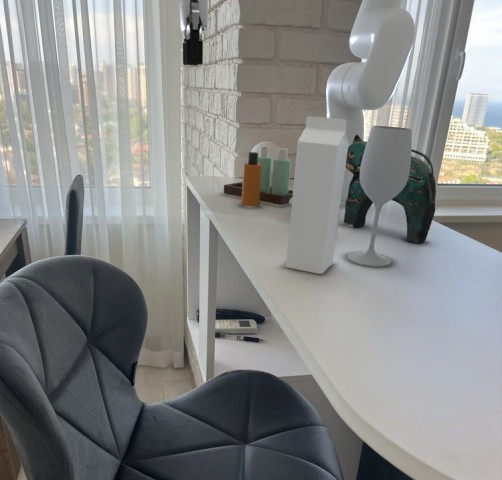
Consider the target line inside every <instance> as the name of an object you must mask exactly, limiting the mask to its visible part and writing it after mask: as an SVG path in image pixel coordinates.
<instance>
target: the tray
mask: <svg viewBox="0 0 502 480" xmlns="http://www.w3.org/2000/svg"><path fill="white" fill-rule="evenodd" d="M271 189H272V185H270V193H266V192H261V191H260V199H259V202H265V203H269V204H275V205H279V206H284V205H287V204H289V201H290V199H291V197H293V190H291V189H289V191H288V194H285V195H277V194H271ZM223 194H226V195H231V196H236V197H241V198H242V181H239V182H232V183H227V184H223Z"/></svg>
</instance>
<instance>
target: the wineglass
mask: <svg viewBox="0 0 502 480" xmlns="http://www.w3.org/2000/svg"><path fill="white" fill-rule="evenodd" d="M412 133H413V132H412V128H407V127H399V126H388V125H387V126H386V125H372V126H371V129H370V132H369V135H368V138H367V141H366V142H367V144H366V147H365V151H364V155H363V158H362V162H361V167H360V183H361V186H362V188H363V190H364V192H365V193H366V195H367V196H368V197H369V198H370V200H371V201H372V202H373V205H374V217H373V224H372V230H371V235H370V241H369V246H368V248H367V250H366V251H357V252H352V253H349V254H348V256H347V259H348V260H349V261H350V262H352V263H354V264H357V265H360V266H365V267H375V268H382V267H383V268H384V267H387V266H390V265H391V264H392V260H391V259H390V258H389V257H388V256H385V255H382V254H379V253H376V250H375V242H376V237H377V232H378V226H379V225H378V224H379V219H380V214H381V211H382V208H383V207H384V205H386V204H387V203H389V202H390V201H392V200H391V199H393V198H394V197H396V196H397V195H398V194H399V193H400V192H401V191H402V190H403V188H404V187H405V185H406V183H407V180H408V177H409V172H410V164H411V156H412V152H411V150H413V149H412V148H413V147H412V145H413V134H412Z"/></svg>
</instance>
